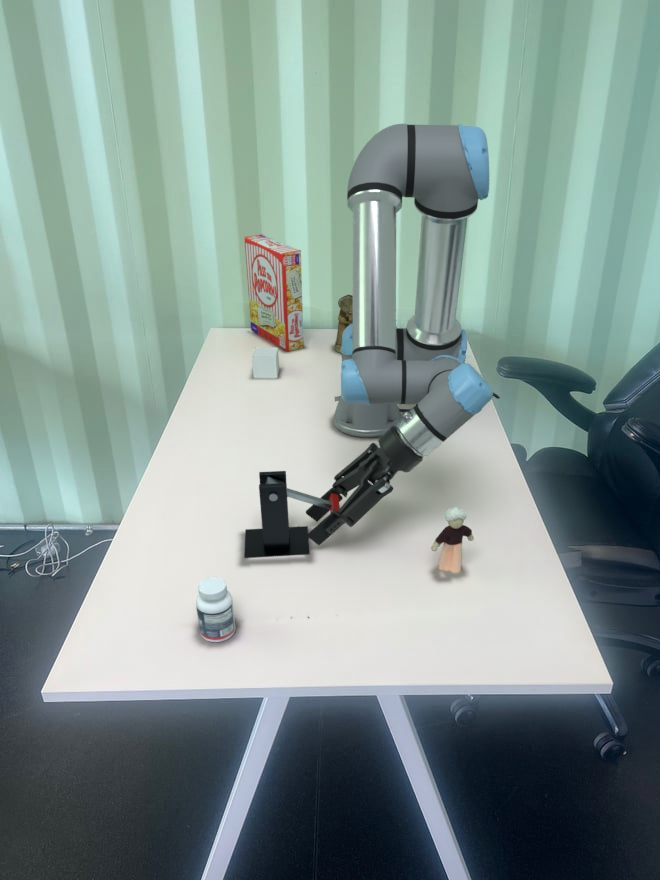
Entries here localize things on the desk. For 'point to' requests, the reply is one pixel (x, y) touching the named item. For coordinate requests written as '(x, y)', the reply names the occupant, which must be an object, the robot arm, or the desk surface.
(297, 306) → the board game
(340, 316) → the bronze figurine
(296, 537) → the bracket
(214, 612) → the pill bottle
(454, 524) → the grandmother figurine
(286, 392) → the desk surface
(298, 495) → the lever
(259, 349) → the pale blue cube
